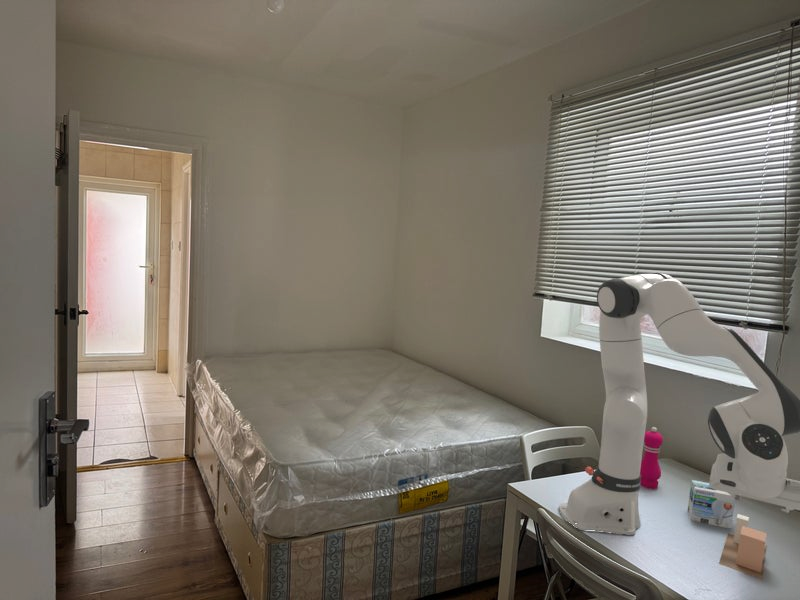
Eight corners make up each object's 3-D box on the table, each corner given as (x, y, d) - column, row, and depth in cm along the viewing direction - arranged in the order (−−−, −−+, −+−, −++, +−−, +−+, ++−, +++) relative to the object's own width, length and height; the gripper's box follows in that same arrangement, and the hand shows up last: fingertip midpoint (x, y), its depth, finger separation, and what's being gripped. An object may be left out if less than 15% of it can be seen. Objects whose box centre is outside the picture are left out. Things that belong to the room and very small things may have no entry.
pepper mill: (663, 490, 176) (670, 431, 174) (641, 489, 176) (648, 430, 174) (653, 480, 184) (660, 424, 181) (632, 479, 184) (638, 422, 181)
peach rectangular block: (760, 572, 131) (765, 541, 130) (735, 563, 134) (740, 533, 134) (762, 563, 135) (766, 533, 135) (738, 554, 139) (742, 525, 138)
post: (744, 545, 143) (748, 520, 143) (733, 541, 145) (736, 517, 144) (745, 541, 145) (749, 517, 145) (734, 538, 147) (737, 513, 146)
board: (761, 582, 129) (763, 565, 128) (718, 567, 134) (720, 550, 134) (766, 549, 144) (768, 533, 144) (727, 536, 149) (729, 521, 149)
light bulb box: (689, 523, 156) (694, 488, 154) (686, 513, 162) (690, 478, 161) (731, 532, 152) (736, 496, 151) (726, 521, 158) (731, 486, 157)
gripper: (822, 475, 112) (817, 503, 121) (710, 451, 124) (713, 478, 133) (821, 503, 109) (815, 530, 117) (706, 476, 121) (709, 502, 130)
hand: (760, 502), depth 125 cm, fingers open, 8 cm apart
